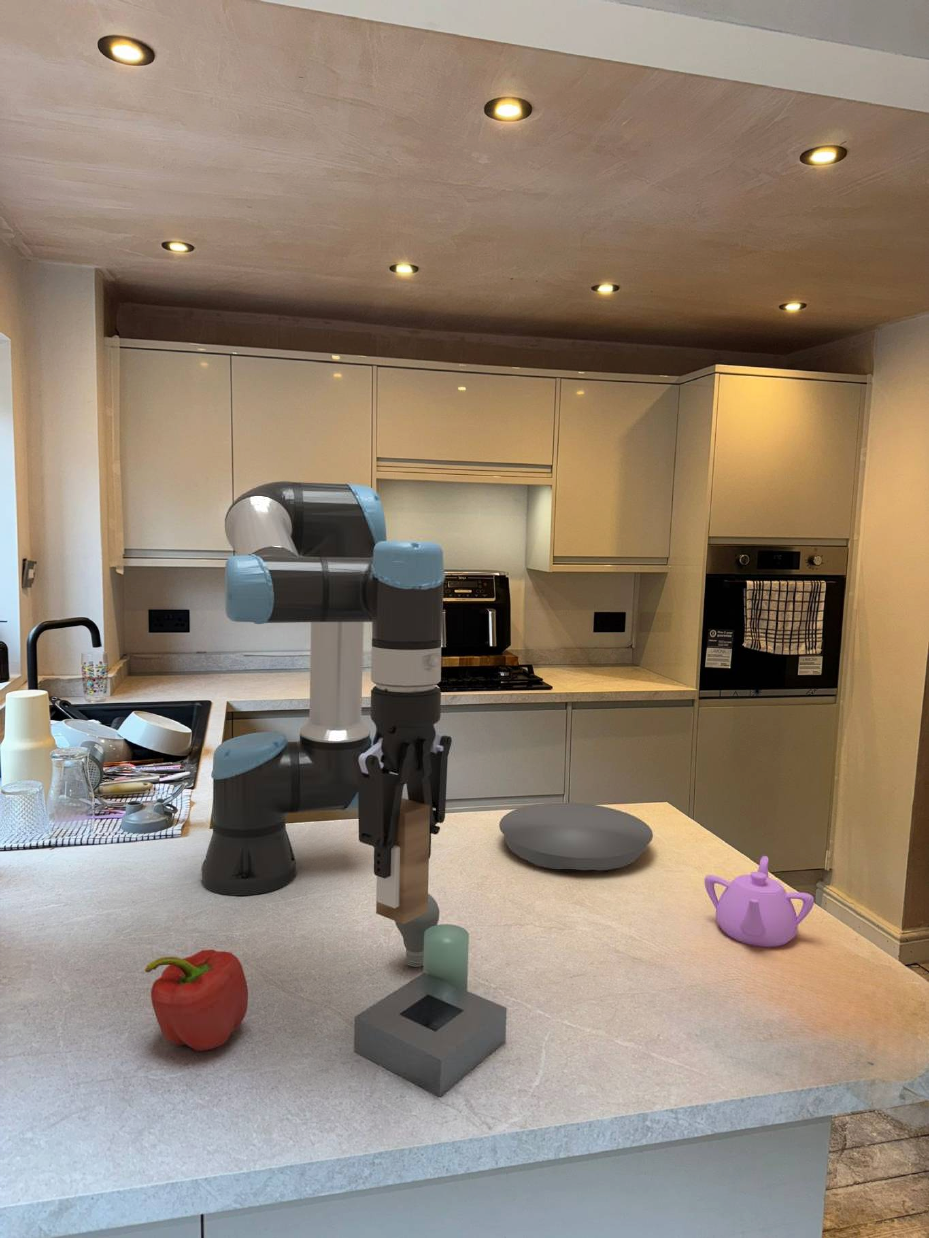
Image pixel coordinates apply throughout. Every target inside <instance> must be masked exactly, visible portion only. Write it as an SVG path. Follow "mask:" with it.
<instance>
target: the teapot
mask: <svg viewBox="0 0 929 1238" xmlns="http://www.w3.org/2000/svg"><path fill="white" fill-rule="evenodd" d="M759 860H760V861H759V865H758V869H757V871H752V872H750V874H741V875H738V876H736V877H735V878H734V879H733V880H732V881H729V880H726V879H724V878H721V877H719V876H717V875H713V874H708V875H706V876H705V877H704V886H705V889H706V893H707V895H708V897H709V899H710V901H711V903H712V904H713V906H714V908H715V920H716V922H717V924H718V925H719V927H720V928H721V929H722V931H723V932H724V933H725V934H726V935H727V936H728V937H730V938H731V939H734V940H735V941H737V942H739V943H743V944H746V945H750V946H754V947H760V948H777V947H780V946H784V945H785V944H787V943H788V942H790V941H792V940H793V939H794V937H795V936H797V933H798V929H799V924H801V923H802V921H804V920H805V918H806V917H807V916H808V915H809V913H810V912H811V911H812V909H813V907H814V903H815V898H814V897H813V895H811V894H810V893H807V892H787V891H786V890H785V888H784V886H783V885H782V884H781V883H780V882H779V881H777V880H775V879H774V878H771V877H769V857H768V856H766V855H763V856H762V857H761V858H760V859H759ZM715 884H718V885H721V886H723V887H725V889H724V891H723V892H722V894H721V895H720V897H719V899H718V897H717V893H716V890H715ZM792 900H801V901H802V907H801V910H800V912H799V913H798V915H797V913H796V909H795V905H794V903H793V902H792Z"/></svg>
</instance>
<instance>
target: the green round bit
mask: <svg viewBox="0 0 929 1238" xmlns="http://www.w3.org/2000/svg"><path fill="white" fill-rule="evenodd" d="M469 940H470V935H469V932H468V930H466V928H464V927H461V926H459V925H455V924H450V923H449V924H448V923H447V924H446V923H444V924H443V923H442V924H437V925H435V926H432V927H430V928H428V929H427V930H426V931H425V933H424V959H423V965H422V966H423V967H422V970H423V971H422V973H426V974H429V975H431V976H433V977H436V978H438V979H440V980H443V981H445V982H447V983H450V984H452V985H454V986H457V987H459V988H461V989H464V990H466V991H468V982H469V981H468V978H469V977H468V976H469V975H468V973H469V944H470V943H469V942H470V941H469Z"/></svg>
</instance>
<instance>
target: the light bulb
mask: <svg viewBox="0 0 929 1238" xmlns="http://www.w3.org/2000/svg"><path fill="white" fill-rule="evenodd" d="M439 920H440V908H439V905H438V903H437V901H436V899H435V898H434V897H433V896H432V895H431V894H430V893H428V912H426V913H425V914H423V915H421V916H419V917H417V918H415V919H413V920H411V921H409V922H407V923H405V924H401V923H399V922H396V921H394V924H395V926H396V928H397V929H398V931H399V933H400V935H401V937H402V939H403V945H404V947H405V963H406V964H407V965H409V966H411V967H414V968H418V967H421V966H423V959H424V933H425V931H426V930H427V929H428V928H430V927H432V926H435V925H439Z"/></svg>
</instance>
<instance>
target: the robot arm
mask: <svg viewBox="0 0 929 1238" xmlns="http://www.w3.org/2000/svg"><path fill="white" fill-rule="evenodd" d="M384 512H385V511H384V507H383V505H382V501H381V498H380V496H379V494H378V492H376V490H374V488H372V487H370V486H366V485H359V484H351V483H348V482H347V483H330V482H329V483H328V482H327V483H326V482H325V483H324V482H322V483H321V482H302V481H301V482H300V481H299V482H297V481H296V482H295V481H289V480H286V481H285V480H283V481H275V482H274V481H273V482H268V483H264V484H261V485H257V486H256V487H253V488H251V489H249V490H247V491H245V492H244V493H242V494H241V495H240V496H238V497H237V498H236V499H235V500H234V501H233V502H232V504H231V505H230V507H228V510H227V512H226V515H225V518H224V531H225V532H224V533H225V536H226V539H227V542H228V543H229V545H230V547H231V548H232V550H234V551H235V555H233V556H230V557H229V558H227V560H226V561H225V568H224V602H225V604H224V606H225V615H226V617H227V618H228V619H229V620H230V621H231V622H232V621H233V622H235V623H236V622H237V623H253V624H256V625H262V624H276V623H278V624H279V623H281V624H285V623H287V624H289V623H290V624H291V623H294V624H295V623H310V657H309V658H310V660H309V661H310V663H309V664H310V665H309V719H308V721H307V722H306V723H305V724H304V725H303V726H302V727H301V728H300V729H299V740H298V741H297V740H296V741H288V739H287V736H286V734H284V733H283V732H277V731H271V732H270V731H260V732H252V733H246V734H243V735H239V736H236V737H232V738H230V739H227V740H225V741H223V742H222V743H220V744H219V745H218V746H217V747H216V748H215V750H214V753H213V757H212V758H213V760H212V771H211V772H210V773H211V774H210V776H211V779H212V787H213V788H212V834H211V838H210V841H209V845H208V848H207V852H206V855H205V859H203V860H204V861H203V863H202V865H201V883H202V885H203V886H204V887H205V888H206V889H208V890H209V891H212V892H215V893H219V894H223V895H231V896H250V895H259V894H264V893H269V892H273V891H275V890H279V889H281V888H283V887H285V886H287V885H289V884H290V883H291V882H293V880H294V879H295V878H296V876H297V858H296V856H295V854H294V849H293V846H292V843H291V839H290V837H289V834H288V832H287V829H286V828H287V825H286V823H287V822H286V821H287V819H286V818H287V815H288V814H295V813H308V812H325V811H339V810H340V811H347V810H350V809H357V808H358V809H357V810H358V812H357V813H358V817H357V819H358V841H359V843H362V844H365V845H368V846H370V847H373V873H374V875H375V876H376V883H375V884H376V886H375V887H376V890H375V891H376V892H375V893H376V895H375V896H376V897H375V898H376V899H375V902H376V901H377V902H379V903H382V904H385V905H387V906H390V907H392V908H396V907H399V890H400V847H399V846H396V845H395V840H396V833H397V826H398V820H399V813H400V806H401V800H402V798H403V791H404V787H405V785H406V791H407V799H408V800H412V801H415V802H419V803H423V804H426V805H430V829H429V860H430V858H431V855H432V835H436V836H437V835H438V834H439V832H440V830H441V826H438V825H437V824H438V823H439V824H443V823H444V822H445V818H446V805H447V804H446V803H447V779H448V762H449V761H448V760H449V759H448V758H449V755H450V754H449V753H450V750H451V746H452V742H453V740H452V737H451V735H450V736H448V735H445V734H439V733H437V732H436V728H435V724H437V723H439V722H440V720H441V713H442V711H441V708H442V706H441V705H442V704H441V702H442V701H441V700H442V691H441V689H440V688H439V687H438V686H436V685H438V684H439V683H440V682H441V679H442V675H441V674H442V645H443V641H442V639H443V612H444V611H443V610H444V609H443V608H444V582H445V579H446V574H445V567H444V551H443V548H442V547H441V545H440V544H439V543H436V542H433V541H405V540H403V541H402V540H399V541H397V540H387V526H386V518H385V513H384ZM364 623H371V649H370V650H371V651H370V652H371V656H370V657H371V658H370V659H371V660H370V661H371V663H370V681H371V682H372V683H373V684H376V685H375V686H373V687H372V689H371V690H370V719H371V721H372V722H373V723H374V725H375V729H376V730H375V734H374V737H372V736H371V730H370V728H369V727H368V726H367V725H366V723H364V722H363V720H362V701H363V699H362V696H363V668H364V667H363V665H364V664H363V662H364V661H363V660H364V659H363V658H364V657H363V656H364V631H365V629H364V626H365V625H364ZM434 809H435V810H434ZM383 833H384V834H385V835H383Z"/></svg>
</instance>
